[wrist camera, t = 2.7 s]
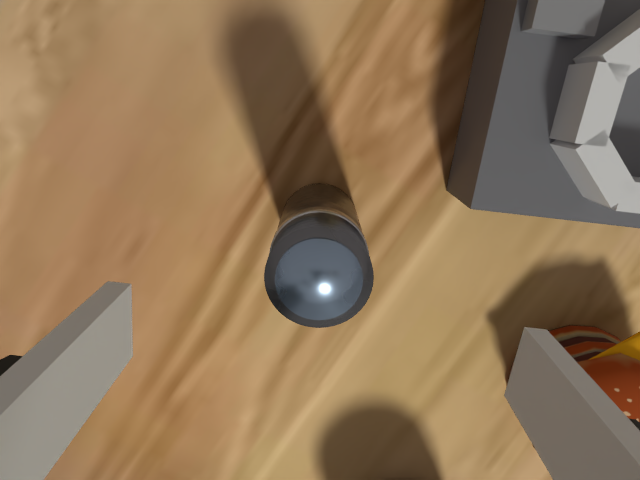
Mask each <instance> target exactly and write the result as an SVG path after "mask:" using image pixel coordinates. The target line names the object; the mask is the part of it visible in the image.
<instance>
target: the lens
mask: <svg viewBox="0 0 640 480" xmlns="http://www.w3.org/2000/svg"><path fill="white" fill-rule="evenodd" d="M373 279H374V277H373V268H372V263H371V260H370V257H369V252H368V247H367V243H366V240H365V237H364V235H363V233H362V230H361V226H360V223H359V220H358V216H357V213H356V210H355V207H354V205H353V203H352V201H351V199H350V198H349V197H348V196H347V195H346V194H345V193H344V192H343V191H342V190H340V189H339V188H337V187H334V186H332V185H328V184H320V183H318V184H311V185H307V186H304V187H302V188H300V189H299V190H297V191H296V192H295V193H294V194H293V195H292V196H291V197H290V198H289V199H288V201H287V203H286V205H285V207H284V210H283V213H282V216H281V219H280V222H279V226H278V229H277V231H276V233H275V235H274V238H273V241H272V244H271V248H270V253H269V257H268V260H267V263H266V267H265V273H264V281H265V287H266V291H267V294H268V296H269V299H270V300H271V302H272V304H273V305H274V306H275V308H276V309H277V310H278V311H279V312H280V313H281V314H282V315H284V316H285V317H286V318H288V319H289V320H291V321H293V322H295V323H298V324H300V325H304V326H308V327H316V328H322V327H330V326H335V325H338V324H341V323H343V322H345V321H347V320H349V319H350V318H352V317H353V316H354V315H356V314H357V313H358V312H359V311H360V310H361V309H362V308H363V306H364V305H365V304H366V302H367V300H368V298H369V296H370V294H371V291H372V287H373Z"/></svg>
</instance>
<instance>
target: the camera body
mask: <svg viewBox="0 0 640 480" xmlns="http://www.w3.org/2000/svg"><path fill="white" fill-rule="evenodd" d="M447 191H448V192H449V193H451V194H452V195H453V196H455V197H456V198H457V199H458V200H460V201H461V202H462V203H464V204H465V205H466V206H467V207H469V208H470V209H476V210H485V211H493V212H502V213H511V214H520V215H528V216H537V217H546V218H555V219H564V220H572V221H581V222H590V223H599V224H607V225H616V226H625V227H634V228H640V0H485V5H484V10H483V14H482V19H481V24H480V29H479V34H478V39H477V44H476V49H475V53H474V58H473V63H472V68H471V73H470V78H469V83H468V87H467V92H466V97H465V102H464V107H463V112H462V117H461V121H460V126H459V131H458V136H457V141H456V146H455V151H454V156H453V160H452V165H451V170H450V175H449V180H448V185H447Z"/></svg>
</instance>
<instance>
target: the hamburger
mask: <svg viewBox="0 0 640 480" xmlns="http://www.w3.org/2000/svg"><path fill="white" fill-rule="evenodd" d="M549 332H550V334H551V335H552V336H553V337H554V338H555V339H556V340H557V341H558V342H559V343H560V344H561V346H562V347H563V348H564V349H565V350H566V351H567V352H568V353H569V354H570V355H571V356H572V357H573V359H574V360H575V361H576V362H577V363H578V364H579V365H580V366H581V367H582V368H583V369H584V371H585V372H586V373H587V374H588V375H589V376H590V377H591V378H592V379H593V380H594V381H595V383H596V384H597V385H598V386H599V387H600V388H601V389H602V390H603V391H604V392H605V393H606V394H607V396H608V397H609V398H610V399H611V400H612V401H613V402H614V403H615V404H616V405H617V406H618V408H619V409H620V410H621V411H622V412H623V413H624V414H625V415H626V416H627V417H628V418H629V419H636V420H637V421H639V422H640V332H638V333H636V334H635V335H633V336H631V337H629V338H627V339H625V340H624V341H622V342H621V340H620V339H618V338H617V337H615V336H613V335H611V334H609V333H607V332H605V331H603V330H601V329H599V328H597V327H590V326H573V325H569V326H565V327H562V328H558V329H555V330H551V331H549ZM513 364H514V362H513ZM513 364H512V367H513ZM511 371H512V368H511ZM510 374H511V373H510ZM533 447H534V446H533ZM534 448H535V447H534Z"/></svg>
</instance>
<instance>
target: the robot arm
mask: <svg viewBox="0 0 640 480" xmlns="http://www.w3.org/2000/svg"><path fill="white" fill-rule="evenodd" d="M132 356H133V342H132V291H131V284H128V283H119V282H110V281H108V282H106V283H105V284H104V285H103V286H102V287H101V288H100V289H99V290H97V291H96V292H95V293H94V294H93V295H92V296H91V297H89V298H88V299H87V300H86V301H85V302H84V303H83V304H82V305H80V306H79V307H78V308H77V309H76V310H75V311H74V312H72V313H71V314H70V315H69V316H68V317H67V318H66V319H65V320H63V321H62V322H61V323H60V324H59V325H58V326H57V327H56V328H54V329H53V330H52V331H51V332H50V333H49V334H48V335H46V336H45V337H44V338H43V339H42V340H41V341H40V342H39V343H37V344H36V345H35V346H34V347H33V348H32V349H31V350H29V351H28V352H27V353H26V354H25V355H24V356H16V355H9V356H7V357H5V358H3V359H1V360H0V480H44V478H45V477H46V476H47V474H48V473H49V471H50V470H51V469H52V467H53V466H54V464H55V463H56V462H57V460H58V459H59V458H60V456H61V455H62V453H63V452H64V451H65V449H66V448H67V446H68V445H69V444H70V442H71V441H72V440H73V438H74V437H75V435H76V434H77V433H78V431H79V430H80V428H81V427H82V426H83V424H84V423H85V422H86V420H87V419H88V417H89V416H90V415H91V413H92V412H93V410H94V409H95V408H96V406H97V405H98V404H99V402H100V401H101V399H102V398H103V397H104V395H105V394H106V392H107V391H108V390H109V388H110V387H111V386H112V384H113V383H114V381H115V380H116V379H117V377H118V376H119V374H120V373H121V372H122V370H123V369H124V368H125V366H126V365H127V363H128V362H129V361H130V359H131V358H132ZM504 396H505V398H506V399H507V401H508V403H509V404H510V406H511V408H512V410H513V411H514V413H515V415H516V416H517V418H518V420H519V422H520V423H521V425H522V427H523V428H524V430H525V432H526V434H527V435H528V437H529V439H530V441H531V442H532V444H533V446H534V447H535V449H536V451H537V453H538V454H539V456H540V458H541V459H542V461H543V463H544V465H545V466H546V468H547V470H548V471H549V473H550V475H551V477H552V478H553V480H640V422H639V421H637V420H636V419H629V418H628V417H627V416H626V415H625V414H624V413H623V412H622V411H621V410H620V409H619V408H618V406H617V405H616V404H615V403H614V402H613V401H612V400H611V399H610V398H609V397H608V396H607V394H606V393H605V392H604V391H603V390H602V389H601V388H600V387H599V386H598V385H597V384H596V383H595V381H594V380H593V379H592V378H591V377H590V376H589V375H588V374H587V373H586V372H585V371H584V369H583V368H582V367H581V366H580V365H579V364H578V363H577V362H576V361H575V360H574V359H573V357H572V356H571V355H570V354H569V353H568V352H567V351H566V350H565V349H564V348H563V347H562V346H561V344H560V343H559V342H558V341H557V340H556V339H555V338H554V337H553V336H552V335H551V334H550V332H549V331H548V330H547V329H538V328H529V327H524V330H523V333H522V337H521V340H520V343H519V347H518V350H517V354H516V357H515V360H514V364H513V367H512V371H511V374H510V377H509V381H508V384H507V388H506V391H505V395H504Z"/></svg>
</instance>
